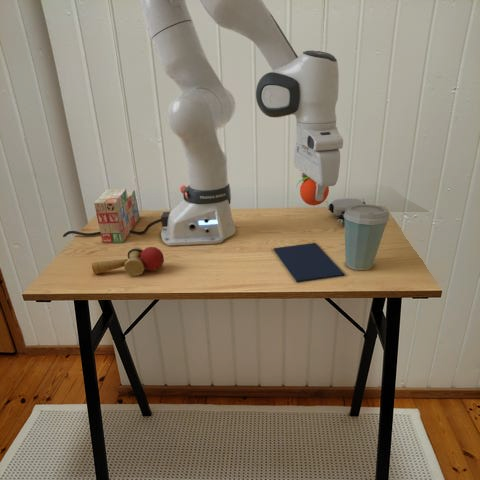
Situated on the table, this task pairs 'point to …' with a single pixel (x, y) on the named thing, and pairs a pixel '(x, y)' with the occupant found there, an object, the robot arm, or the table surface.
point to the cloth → (307, 262)
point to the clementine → (310, 191)
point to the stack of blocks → (116, 214)
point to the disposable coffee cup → (363, 234)
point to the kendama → (133, 261)
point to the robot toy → (342, 206)
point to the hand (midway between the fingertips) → (312, 195)
